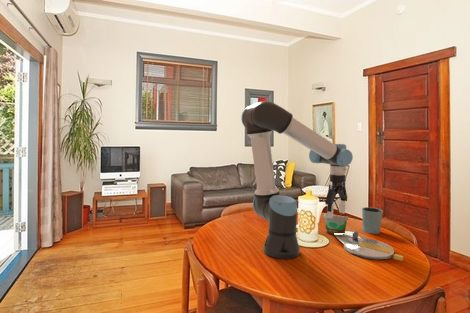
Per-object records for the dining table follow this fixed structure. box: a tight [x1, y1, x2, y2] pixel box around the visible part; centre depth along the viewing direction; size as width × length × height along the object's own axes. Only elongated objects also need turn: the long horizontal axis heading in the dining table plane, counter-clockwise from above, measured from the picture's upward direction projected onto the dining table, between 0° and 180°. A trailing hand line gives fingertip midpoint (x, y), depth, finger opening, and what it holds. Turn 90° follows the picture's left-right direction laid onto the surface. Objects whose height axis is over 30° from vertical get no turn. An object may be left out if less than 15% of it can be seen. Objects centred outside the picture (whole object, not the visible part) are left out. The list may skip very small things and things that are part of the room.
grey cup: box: [361, 206, 384, 235], centre depth 155 cm, size 10×10×12 cm
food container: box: [323, 213, 349, 236], centre depth 148 cm, size 12×6×10 cm, turn 68°
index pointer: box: [392, 253, 404, 262], centre depth 119 cm, size 3×2×2 cm, turn 46°
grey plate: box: [343, 230, 395, 261], centre depth 127 cm, size 20×20×6 cm
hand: (336, 215), depth 148 cm, fingers open, 13 cm apart
